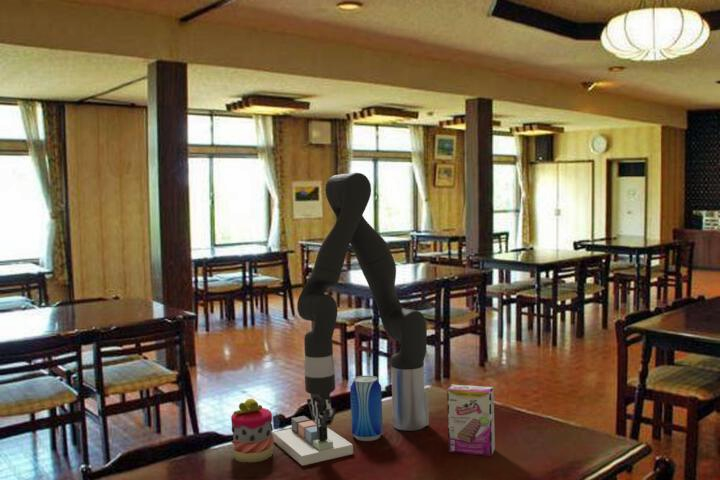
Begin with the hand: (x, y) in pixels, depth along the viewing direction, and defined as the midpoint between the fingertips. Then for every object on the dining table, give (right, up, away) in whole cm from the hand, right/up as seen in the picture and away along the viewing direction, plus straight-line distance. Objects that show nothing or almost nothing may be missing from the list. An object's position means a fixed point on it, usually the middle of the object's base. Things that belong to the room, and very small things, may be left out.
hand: (322, 439), depth 171 cm
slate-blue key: (-2, -2, +5) cm, 5 cm away
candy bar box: (+38, -3, 0) cm, 38 cm away
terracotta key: (-4, -2, +9) cm, 10 cm away
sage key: (0, -4, 0) cm, 4 cm away
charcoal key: (-6, -2, +13) cm, 15 cm away
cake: (-18, -5, +3) cm, 19 cm away
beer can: (+11, -3, +13) cm, 18 cm away
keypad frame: (-3, -4, +7) cm, 8 cm away
